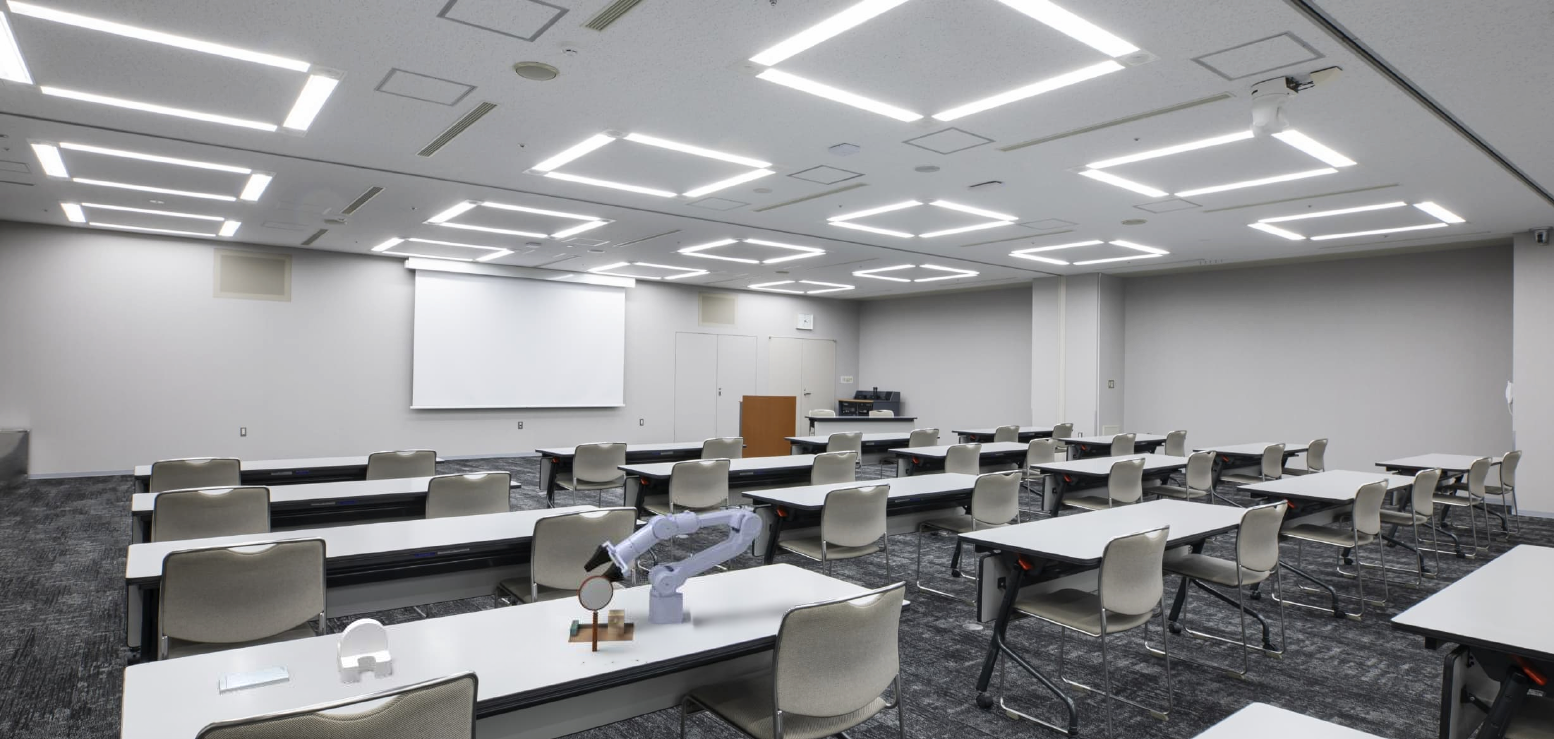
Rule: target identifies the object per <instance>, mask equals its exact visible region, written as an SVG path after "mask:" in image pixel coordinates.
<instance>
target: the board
mask: <svg viewBox="0 0 1554 739" xmlns="http://www.w3.org/2000/svg"><path fill="white" fill-rule="evenodd" d="M634 629H635V622H632V621H631V622H624V634H623V635H608V622H598V633H597V643H598V642H630V641H633V639H634ZM592 634H593V622H592V623H580V621H579V619H575V620H574V619H573V620H572V621H571V624H570V628H569V637H568V641H567V643H592Z"/></svg>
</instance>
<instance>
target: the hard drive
mask: <svg viewBox="0 0 1554 739" xmlns="http://www.w3.org/2000/svg"><path fill="white" fill-rule="evenodd" d="M287 682H290V676H289V672H288V668H287V665H282V666H276V667H275V666H274V667H270V668H269V667H268V668H264V669H259V670H253V671H248V672H243V673H238V674H237V673H235V674H232V675H226V676H220V677H219V679H218V686H219V687H220V689H219V694H220V693H225V692H230V693H234V692H233V691H236V692H238V691H237V690H241V691H245V690H244V689H246V690H249V689H248V688H251V689H256V688H255V687H257V688H262V687H266V685H267V686H272V685H276V684H282V683H287ZM261 686H262V687H261ZM225 694H226V693H225Z"/></svg>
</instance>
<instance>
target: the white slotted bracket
mask: <svg viewBox="0 0 1554 739" xmlns="http://www.w3.org/2000/svg"><path fill="white" fill-rule="evenodd" d="M341 633H342V634H341V635H340V639H339V642H338V643H337V651H336V653H337V655H336V656H337V658H336V659H337V664H338V668H339V672H340V673H341V674H340V677H342V678H341V682H342V681H345V682H351V681H357V682H359V674H360V673H364V672H374V675H375V678H376V677H379V678H381V677H380V676H384V677H387V676H386V675H388V676H390V675H391V674H390V673H391V670H392V668H391V667H392V658H391V655H390V653H389V650H388V648H389V647H388V646H389V644H388V643H389V642H388V641H389V639H388V638H389V637H388V633H387V632H386V629H385V626H384V625H383V624H382V623H381V622H380V621H378V620H376V619H372V618H360V619H358V620H355V621H353V622H351V623H350V624H349V625H348V626H347V627H346V628H345V629H344V630H343V631H342V632H341ZM351 683H352V682H351Z"/></svg>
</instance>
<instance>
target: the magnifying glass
mask: <svg viewBox="0 0 1554 739" xmlns="http://www.w3.org/2000/svg"><path fill="white" fill-rule="evenodd" d="M601 575H602V574H599V575H598V574H597V575H592V576H589V577H588V578H586V579H585V580H584V581H583V582H582V583H581V585H580V586H579V589H578V592H577V593H578V594H577V595H578V596H577V597H578V601H579V603H580V605H581V607H583V608H584V609H585V610H587V611H591V612H592V623H593V634H592V642H591V643H592V644H591V651H592V653H593V652H594V653H597V652H598V642H597V633H598V623H599V612H598V611H600V610H602V609H604V608H606V607H607V606H608V605H609V604H610V603H611V601H612V599H613V596H614V586H613V582H612V583H611V581H610V580H609V579H608V578H606V577H604V576H601Z"/></svg>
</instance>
